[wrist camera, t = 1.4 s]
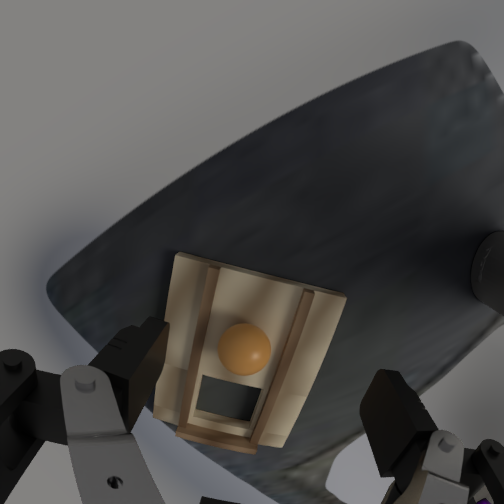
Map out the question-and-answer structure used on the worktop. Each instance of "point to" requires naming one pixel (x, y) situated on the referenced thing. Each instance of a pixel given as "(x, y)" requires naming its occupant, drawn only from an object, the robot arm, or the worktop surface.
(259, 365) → the ball
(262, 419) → the beige tray
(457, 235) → the worktop surface
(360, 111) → the worktop surface
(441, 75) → the worktop surface
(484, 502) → the potion bottle
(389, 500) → the robot arm
